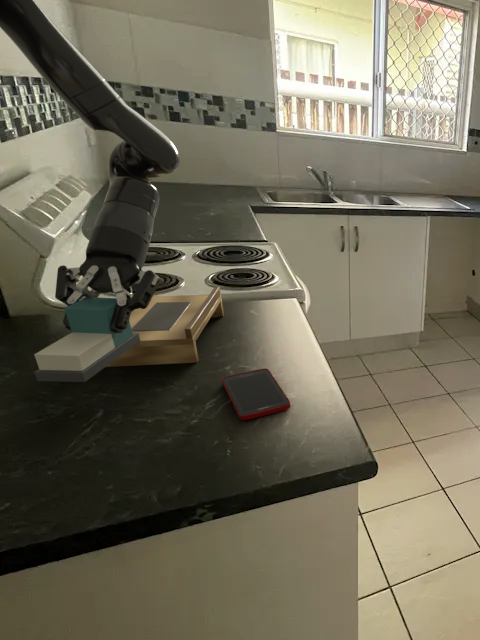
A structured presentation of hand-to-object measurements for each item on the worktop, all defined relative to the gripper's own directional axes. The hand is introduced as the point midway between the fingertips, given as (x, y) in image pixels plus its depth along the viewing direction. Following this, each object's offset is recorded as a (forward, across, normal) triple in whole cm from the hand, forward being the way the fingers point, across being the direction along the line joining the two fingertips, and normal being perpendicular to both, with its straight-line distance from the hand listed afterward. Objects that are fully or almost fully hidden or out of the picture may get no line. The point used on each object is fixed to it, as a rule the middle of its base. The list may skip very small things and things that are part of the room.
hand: (93, 330), depth 73 cm
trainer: (+4, 0, +2) cm, 5 cm away
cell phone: (+8, +22, +8) cm, 25 cm away
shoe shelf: (-7, -2, +24) cm, 25 cm away
